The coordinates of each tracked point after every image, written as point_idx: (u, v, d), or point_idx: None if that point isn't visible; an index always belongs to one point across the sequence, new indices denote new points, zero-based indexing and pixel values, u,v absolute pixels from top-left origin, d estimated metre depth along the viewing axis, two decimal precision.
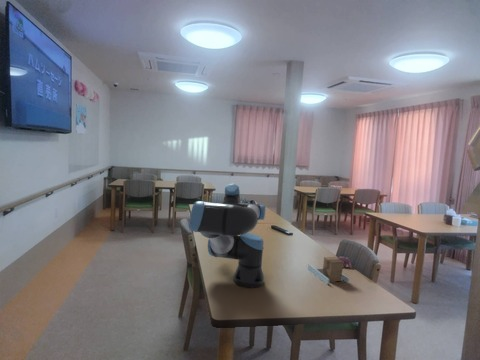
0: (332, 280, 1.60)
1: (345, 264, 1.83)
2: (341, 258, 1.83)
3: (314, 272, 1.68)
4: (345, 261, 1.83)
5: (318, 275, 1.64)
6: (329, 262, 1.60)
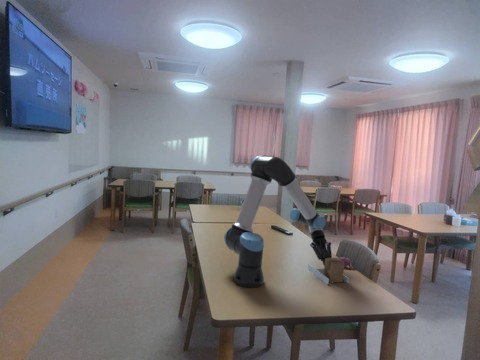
0: (333, 281, 1.59)
1: (346, 265, 1.82)
2: (342, 259, 1.82)
3: (314, 272, 1.68)
4: (346, 262, 1.82)
5: (318, 275, 1.64)
6: (330, 263, 1.59)
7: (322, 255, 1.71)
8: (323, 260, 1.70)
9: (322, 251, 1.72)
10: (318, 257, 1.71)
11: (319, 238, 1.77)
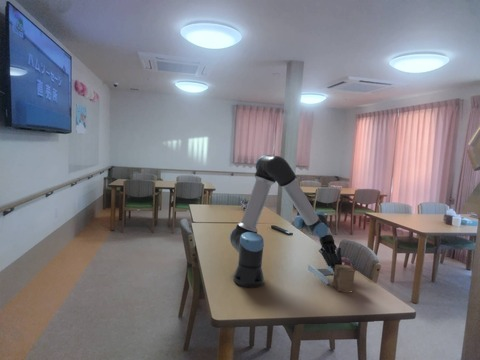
0: (342, 289, 1.49)
1: None
2: (342, 259, 1.82)
3: (314, 272, 1.68)
4: (346, 262, 1.82)
5: (318, 275, 1.64)
6: (339, 270, 1.50)
7: (332, 262, 1.61)
8: (333, 267, 1.60)
9: (332, 257, 1.63)
10: (328, 264, 1.62)
11: (328, 243, 1.68)
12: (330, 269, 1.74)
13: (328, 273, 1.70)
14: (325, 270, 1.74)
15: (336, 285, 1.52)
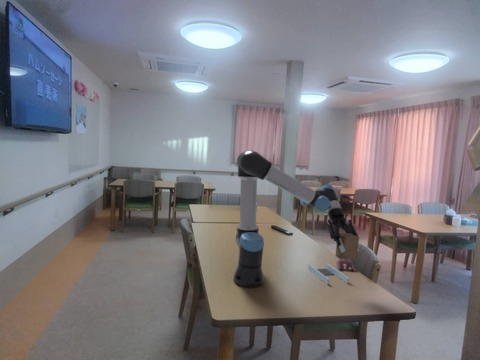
0: (347, 257, 1.47)
1: (348, 267, 1.80)
2: (344, 260, 1.79)
3: (314, 272, 1.68)
4: (348, 263, 1.80)
5: (318, 275, 1.64)
6: (344, 238, 1.47)
7: (336, 234, 1.50)
8: (336, 239, 1.49)
9: (338, 230, 1.52)
10: (331, 236, 1.51)
11: (338, 217, 1.57)
12: (330, 269, 1.74)
13: (328, 273, 1.70)
14: (325, 270, 1.74)
15: (340, 253, 1.49)
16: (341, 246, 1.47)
